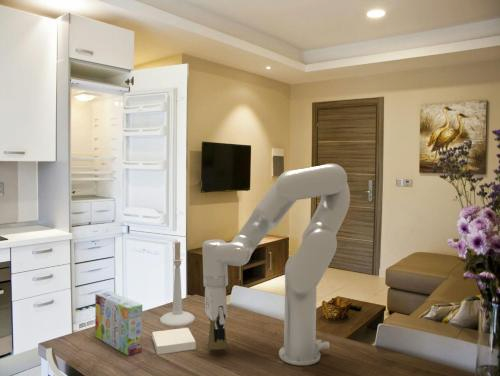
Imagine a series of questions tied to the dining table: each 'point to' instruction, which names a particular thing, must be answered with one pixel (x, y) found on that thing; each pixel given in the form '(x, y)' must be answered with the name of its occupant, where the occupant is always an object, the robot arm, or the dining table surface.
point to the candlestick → (177, 298)
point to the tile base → (173, 340)
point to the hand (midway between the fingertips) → (217, 337)
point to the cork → (219, 343)
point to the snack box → (118, 322)
